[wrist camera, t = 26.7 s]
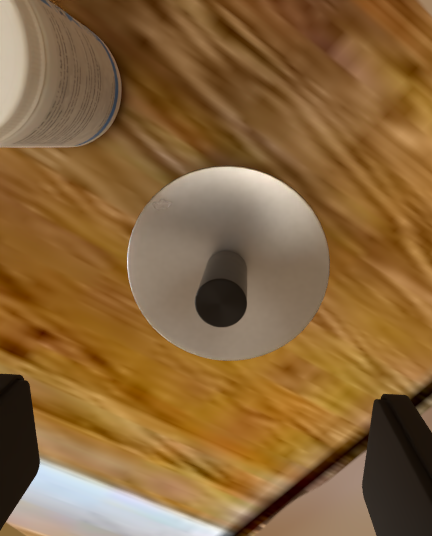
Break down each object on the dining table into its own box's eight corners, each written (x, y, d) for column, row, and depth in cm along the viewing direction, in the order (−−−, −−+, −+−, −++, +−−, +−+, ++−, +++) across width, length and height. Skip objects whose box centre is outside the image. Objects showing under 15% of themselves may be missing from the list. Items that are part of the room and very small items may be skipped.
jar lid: (136, 348, 29) (102, 408, 22) (127, 163, 25) (83, 168, 18) (317, 356, 28) (340, 422, 21) (335, 166, 24) (369, 172, 18)
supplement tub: (114, 16, 32) (7, -91, 18) (133, 141, 34) (54, 135, 20) (-1, 33, 33) (-189, -55, 19) (26, 154, 35) (-120, 156, 21)
